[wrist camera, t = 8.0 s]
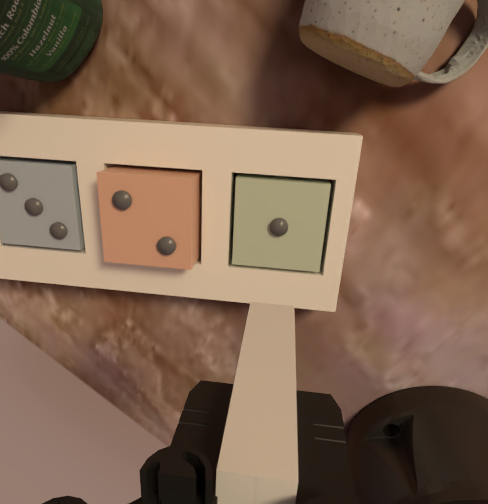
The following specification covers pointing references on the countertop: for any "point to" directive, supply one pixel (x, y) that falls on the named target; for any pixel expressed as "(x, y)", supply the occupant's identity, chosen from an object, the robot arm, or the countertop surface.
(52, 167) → the three-pip button
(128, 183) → the two-pip button
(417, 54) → the ceramic mug
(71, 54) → the coffee jar
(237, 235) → the one-pip button
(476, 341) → the countertop surface
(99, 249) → the button panel
